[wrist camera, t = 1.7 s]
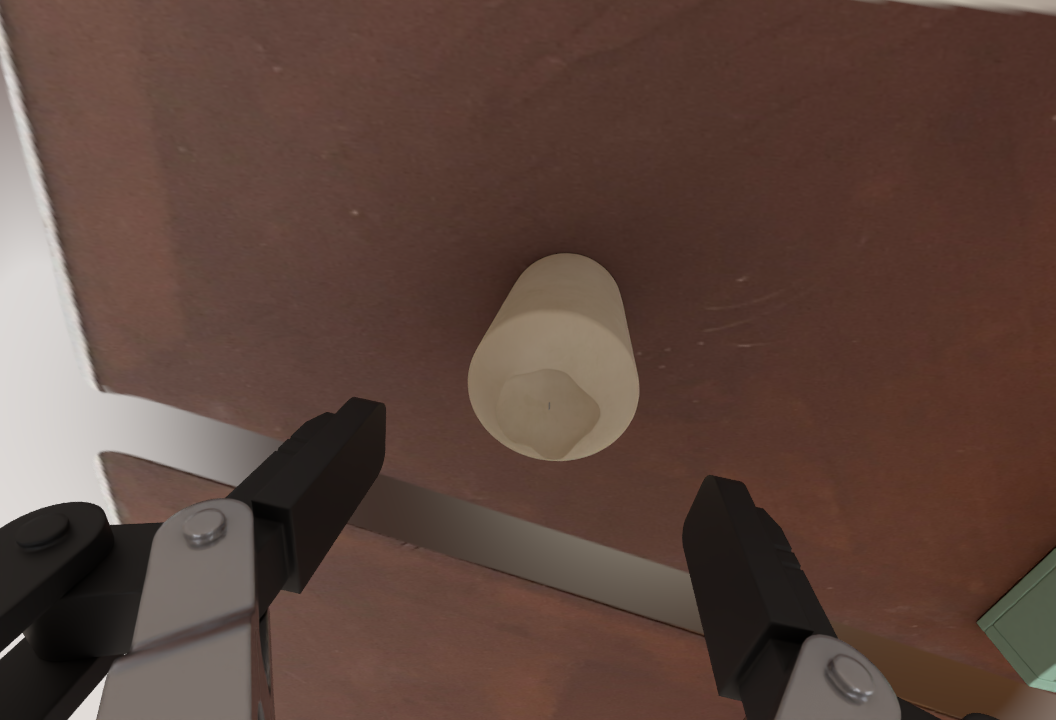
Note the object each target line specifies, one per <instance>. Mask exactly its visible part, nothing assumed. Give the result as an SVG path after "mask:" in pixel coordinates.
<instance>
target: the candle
mask: <svg viewBox="0 0 1056 720" xmlns="http://www.w3.org/2000/svg"><path fill="white" fill-rule="evenodd" d="M468 391H469V397H470V401H471V404H472V407H473V409H474V411H475V414H476V415H477V417H478V419H479V420H480V422H481V423H482V425H483V426H484V427H485V428H486V430H487V431H488V432H489V433H490V434H491V435H492V436H493V437H494V438H496V439H497V440H498V441H499V442H501V443H502V444H503V445H505V446H507V447H508V448H510V449H512V450H514V451H516V452H518V453H520V454H523V455H526V456H529V457H532V458H537V459H541V460H549V461H566V460H574V459H579V458H583V457H586V456H590V455H592V454H594V453H597V452H599V451H601V450H602V449H604V448H606V447H608V446H609V445H610V444H612V443H613V442H614V441H615V440H617V439H618V438H619V437H620V436H621V435H622V434H623V432H624V431H625V430H626V428H627V427H628V426H629V424H630V422H631V420H632V419H633V417H634V414H635V411H636V409H637V405H638V400H639V380H638V374H637V369H636V364H635V359H634V355H633V350H632V345H631V340H630V336H629V331H628V326H627V321H626V317H625V312H624V307H623V302H622V299H621V295H620V291H619V289H618V286H617V284H616V282H615V281H614V279H613V277H612V276H611V275H610V274H609V272H608V271H607V270H606V269H605V268H604V267H602V266H601V265H600V264H598V263H597V262H596V261H594V260H592V259H590V258H588V257H585V256H582V255H578V254H571V253H560V254H554V255H550V256H547V257H544V258H542V259H540V260H538V261H536V262H535V263H533V264H532V265H530V266H529V267H528V268H527V269H526V270H525V271H524V272H523V273H522V274H521V276H520V277H519V278H518V280H517V281H516V283H515V284H514V286H513V288H512V289H511V291H510V293H509V295H508V296H507V298H506V300H505V301H504V303H503V305H502V307H501V308H500V310H499V312H498V313H497V315H496V317H495V319H494V320H493V322H492V324H491V325H490V327H489V329H488V331H487V332H486V334H485V336H484V337H483V339H482V341H481V343H480V344H479V346H478V348H477V350H476V352H475V354H474V356H473V358H472V361H471V364H470V367H469V373H468Z"/></svg>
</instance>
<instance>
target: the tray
mask: <svg viewBox="0 0 1056 720" xmlns="http://www.w3.org/2000/svg"><path fill="white" fill-rule="evenodd" d="M977 624H978V625H979V626H980V628H981V629H982V630H983V631H984V632H985V634H986V635H987V636H988V637H989V639H990V640H991V641H992V642H993V643H994V645H995V646H996V647H997V648H998V650H999V651H1000V652H1001V653H1002V654H1003V656H1004V657H1005V658H1006V659H1007V661H1008V662H1009V663H1010V664H1011V665H1012V667H1013V668H1014V669H1015V670H1016V671H1017V673H1018V674H1019V675H1020V676H1021V678H1022V679H1023V680H1024V681H1025V682H1026V684H1027V685H1028V686H1031V687H1035V688H1039V689H1043V690H1048V691H1052V692H1056V548H1055V549H1054V550H1053V551H1052V552H1051V553H1050V554H1049V555H1048V556H1047V557H1045V558H1044V559H1043V560H1042V561H1041V562H1040V563H1039V564H1038V565H1037V566H1036V567H1035V568H1034V569H1033V570H1032V571H1031V572H1030V573H1028V574H1027V575H1026V576H1025V577H1024V578H1023V579H1022V580H1021V581H1020V582H1019V583H1018V584H1017V585H1016V586H1015V587H1014V588H1013V589H1011V590H1010V591H1009V592H1008V593H1007V594H1006V595H1005V596H1004V597H1003V598H1002V599H1001V600H1000V601H999V602H998V603H997V604H995V605H994V606H993V607H992V608H991V609H990V610H989V611H988V612H987V613H986V614H985V615H984V616H983V617H982V618H981V619H980V620H978V621H977Z"/></svg>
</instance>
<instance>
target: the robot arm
mask: <svg viewBox="0 0 1056 720" xmlns="http://www.w3.org/2000/svg"><path fill="white" fill-rule="evenodd" d="M385 435H386V407H385V405H384V403H380V402H376V401H371V400H366V399H362V398H357V397H352V398H351V399H349V400H348V401H347V402H346V403H345V404H344V405H343V406H342V407H341V408H340V410H339V411H338V412H337V413H336V414H333V413H329V412H326V413H324V414H321V415H319V416H317V417H315V418H313V419H311V420H309V421H307V422H305V423H304V424H303V425H302V426H301V427H300V428H299V429H298V430H297V431H296V432H295V433H294V434H293V435H292V436H291V438H290V439H287V440H286V441H285V442H284V443H283V444H282V445H281V446H280V447H279V448H278V451H275V452H274V453H273V454H272V455H270V456H269V457H268V458H267V459H266V460H265V461H264V462H263V463H262V464H261V465H260V466H259V467H258V468H257V469H256V470H255V471H253V472H252V473H251V474H250V475H249V476H248V477H247V478H246V479H245V480H244V481H243V482H242V483H241V484H240V485H239V486H238V487H236V488H235V489H234V490H233V491H232V492H231V493H230V494H229V495H228V496H227V497H226V498H219V499H211V500H206V501H202V502H199V503H196V504H193V505H191V506H189V507H186V508H184V509H182V510H181V511H179V512H177V513H176V514H174V515H173V516H171V517H170V518H169V519H168V520H167V521H165V522H163V523H144V524H123V525H109V522H108V520H107V517H106V514H105V512H104V510H103V509H102V508H101V507H99V506H97V505H95V504H91V503H87V502H69V503H61V504H56V505H52V506H48V507H45V508H41V509H39V510H36V511H33V512H30V513H28V514H26V515H23V516H21V517H19V518H17V519H15V520H13V521H11V522H10V523H8V524H6V525H5V526H3V527H2V528H0V652H1V651H2V650H4V649H5V648H6V647H7V646H8V645H9V644H10V643H11V642H12V641H14V639H16V638H17V637H18V636H19V635H20V634H21V633H23V634H24V636H25V638H23V639H22V640H21V641H20V642H19V643H18V644H17V645H16V646H15V647H14V648H13V649H11V650H10V651H9V652H8V653H7V654H6V655H5V656H4V657H3V658H1V659H0V720H68V718H69V717H70V716H71V715H72V714H73V712H74V711H75V710H76V709H77V708H78V707H79V706H80V705H81V703H82V702H83V701H84V700H85V699H86V698H87V696H88V695H89V694H90V693H91V692H92V691H93V690H94V688H95V687H96V686H97V685H98V684H99V683H100V681H101V680H102V679H103V678H104V677H105V676H106V675H107V677H106V681H105V685H104V689H103V693H102V697H101V702H100V706H99V710H98V714H97V719H96V720H275V710H274V693H273V672H272V651H271V631H270V611H269V606H270V604H271V603H272V601H273V600H274V599H275V597H276V596H277V594H278V593H279V592H280V590H286V591H290V592H294V593H298V594H301V592H302V591H303V589H304V588H305V586H306V584H307V583H308V581H309V580H310V578H311V577H312V575H313V574H314V572H315V571H316V569H317V568H318V566H319V565H320V563H321V562H322V560H323V559H324V557H325V556H326V554H327V553H328V551H329V550H330V548H331V546H332V545H333V543H334V542H335V540H336V539H337V537H338V536H339V534H340V533H341V531H342V530H343V528H344V527H345V525H346V524H347V522H348V520H349V519H350V517H351V516H352V515H353V513H354V511H355V510H356V508H357V507H358V505H359V504H360V502H361V501H362V499H363V498H364V496H365V495H366V493H367V492H368V490H369V489H370V487H371V486H372V484H373V483H374V481H375V479H376V478H377V476H378V475H379V473H380V470H381V468H382V465H383V461H384V457H385ZM682 542H683V548H684V552H685V557H686V561H687V565H688V569H689V573H690V577H691V582H692V585H693V590H694V594H695V598H696V602H697V606H698V611H699V614H700V619H701V623H702V627H703V631H704V636H705V640H706V644H707V648H708V652H709V656H710V660H711V665H712V669H713V673H714V677H715V681H716V685H717V690H718V694H719V696H722V697H726V698H731V699H735V700H739V701H742V703H743V707H744V710H745V714H746V717H745V718H744V719H743V720H941V719H939V718H937V717H935V716H934V715H932V714H930V713H928V712H926V711H924V710H922V709H920V708H918V707H916V706H914V705H912V704H911V703H909V702H907V701H905V700H903V699H901V698H899V697H897V696H896V694H895V693H894V691H893V689H892V687H891V686H890V684H889V683H888V681H887V680H886V678H885V677H884V676H883V674H882V673H881V672H880V671H879V670H878V669H877V667H876V666H875V665H874V664H873V663H872V662H871V661H870V660H868V659H867V658H866V657H865V656H864V655H863V654H861V653H860V652H859V651H858V650H856V649H855V648H853V647H851V646H850V645H849V644H847V643H845V642H843V641H841V640H839V639H838V638H837V636H836V634H835V632H834V630H833V628H832V626H831V624H830V622H829V620H828V618H827V616H826V614H825V612H824V610H823V608H822V606H821V605H820V603H819V601H818V599H817V597H816V595H815V593H814V591H813V589H812V587H811V585H810V583H809V581H808V579H807V577H806V575H805V573H804V572H803V570H800V564H799V562H798V560H797V558H796V556H795V554H794V553H792V552H791V549H792V548H791V546H790V544H789V542H788V540H787V539H786V537H785V535H784V533H783V531H782V529H781V527H780V526H779V525H778V524H777V523H776V522H775V521H774V520H773V519H772V518H771V517H770V515H769V514H768V513H767V512H766V511H765V510H764V509H763V508H758V507H755V504H754V502H753V500H752V498H751V496H750V494H749V492H748V490H747V488H746V486H745V484H744V483H743V482H740V481H736V480H731V479H727V478H722V477H717V476H713V475H708V476H707V477H706V478H705V479H704V481H703V482H702V485H701V487H700V489H699V491H698V493H697V495H696V498H695V500H694V502H693V504H692V506H691V508H690V511H689V513H688V515H687V517H686V519H685V522H684V526H683V534H682ZM124 654H125V655H124ZM107 673H108V674H107ZM961 720H998V719H996V718H994V717H991V716H989V715H985V714H981V713H971V714H968V715H966V716H965V717H964V718H963V719H961Z"/></svg>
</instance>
